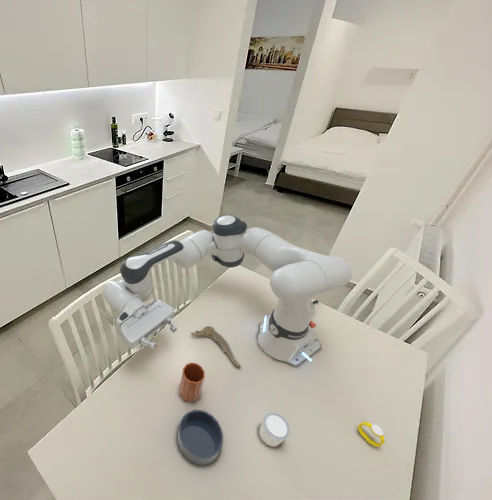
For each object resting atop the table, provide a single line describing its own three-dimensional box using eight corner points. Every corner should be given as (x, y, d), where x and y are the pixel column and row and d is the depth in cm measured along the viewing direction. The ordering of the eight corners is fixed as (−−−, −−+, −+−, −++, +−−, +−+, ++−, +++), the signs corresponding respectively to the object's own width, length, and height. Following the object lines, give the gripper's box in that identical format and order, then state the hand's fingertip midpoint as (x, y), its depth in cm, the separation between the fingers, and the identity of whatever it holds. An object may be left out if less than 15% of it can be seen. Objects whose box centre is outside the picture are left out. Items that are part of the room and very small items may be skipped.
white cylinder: (284, 452, 79) (292, 442, 75) (258, 446, 80) (265, 436, 76) (279, 425, 84) (287, 415, 80) (255, 420, 85) (261, 409, 81)
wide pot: (205, 412, 87) (208, 403, 84) (227, 455, 78) (231, 447, 75) (170, 426, 84) (172, 418, 80) (189, 473, 75) (191, 466, 71)
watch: (353, 430, 83) (362, 421, 80) (358, 425, 84) (368, 416, 81) (374, 451, 79) (385, 442, 76) (379, 446, 80) (391, 437, 77)
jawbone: (202, 323, 115) (203, 320, 113) (249, 354, 104) (251, 350, 103) (189, 336, 109) (190, 332, 108) (239, 370, 98) (240, 366, 97)
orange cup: (193, 380, 95) (198, 360, 88) (203, 398, 90) (208, 378, 83) (176, 386, 93) (179, 366, 86) (185, 405, 88) (189, 386, 81)
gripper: (157, 304, 105) (186, 326, 96) (113, 335, 94) (141, 363, 85) (158, 291, 101) (188, 314, 93) (112, 322, 90) (141, 351, 82)
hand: (165, 338), depth 89 cm, fingers open, 8 cm apart
